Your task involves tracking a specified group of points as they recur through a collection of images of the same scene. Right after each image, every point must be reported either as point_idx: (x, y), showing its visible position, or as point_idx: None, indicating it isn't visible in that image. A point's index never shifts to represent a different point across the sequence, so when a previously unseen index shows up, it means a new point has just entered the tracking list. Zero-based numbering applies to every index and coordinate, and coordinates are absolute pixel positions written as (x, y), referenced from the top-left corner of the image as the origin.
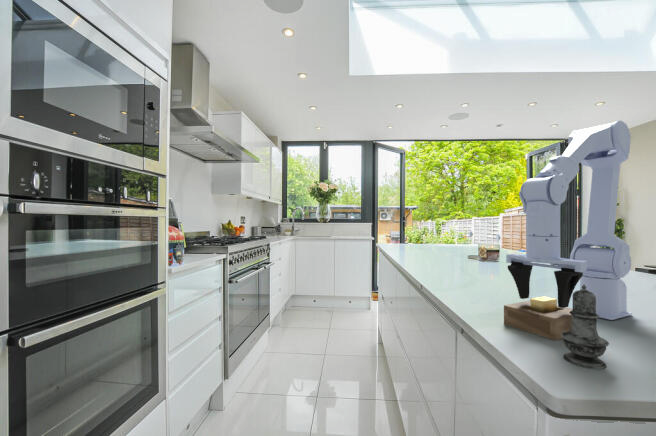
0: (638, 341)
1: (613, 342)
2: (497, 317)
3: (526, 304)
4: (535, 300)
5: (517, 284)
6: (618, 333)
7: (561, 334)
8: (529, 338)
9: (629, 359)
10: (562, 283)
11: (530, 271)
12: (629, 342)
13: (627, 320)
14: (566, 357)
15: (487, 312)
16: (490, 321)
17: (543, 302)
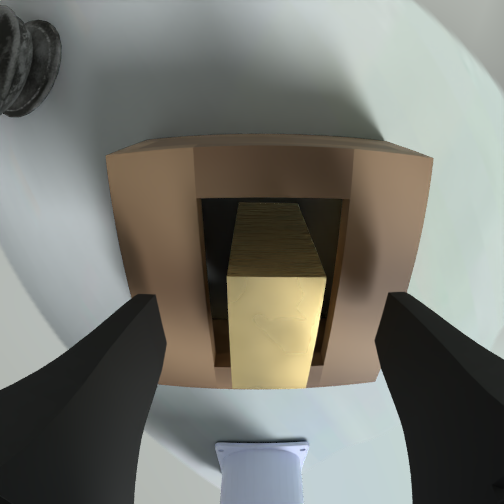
0: None
1: (88, 303)
2: (442, 212)
3: (365, 295)
4: (287, 275)
5: (460, 339)
6: None
7: (11, 15)
8: (209, 61)
9: (4, 204)
10: (24, 390)
11: (416, 497)
12: (84, 335)
13: (207, 455)
14: (45, 29)
15: (483, 239)
16: (434, 130)
17: (228, 277)
